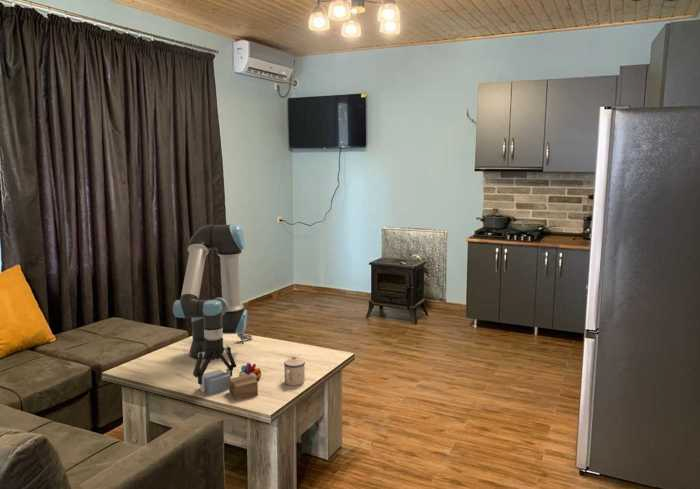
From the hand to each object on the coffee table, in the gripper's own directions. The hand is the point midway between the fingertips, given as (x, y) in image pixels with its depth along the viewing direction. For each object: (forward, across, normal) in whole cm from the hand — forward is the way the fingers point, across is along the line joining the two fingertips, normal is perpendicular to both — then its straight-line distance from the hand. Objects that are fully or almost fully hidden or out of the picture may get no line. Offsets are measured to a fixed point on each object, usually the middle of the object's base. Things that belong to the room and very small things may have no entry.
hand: (215, 387), depth 228 cm
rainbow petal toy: (+1, +16, 0) cm, 16 cm away
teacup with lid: (0, +29, -15) cm, 33 cm away
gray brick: (0, 0, 0) cm, 0 cm away
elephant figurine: (0, +36, +48) cm, 60 cm away
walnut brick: (0, +7, -12) cm, 14 cm away
